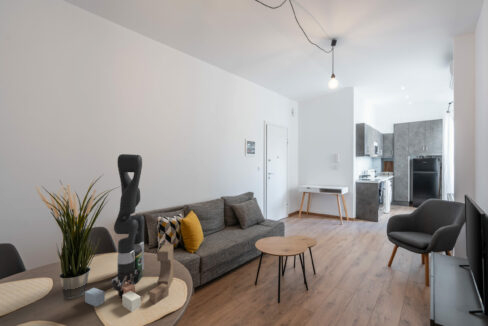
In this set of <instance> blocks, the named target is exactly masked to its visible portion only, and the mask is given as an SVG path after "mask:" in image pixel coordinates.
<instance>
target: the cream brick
mask: <svg viewBox="0 0 488 326" xmlns="http://www.w3.org/2000/svg"><path fill="white" fill-rule="evenodd" d="M121 299H122V303H121V304H122V305H123V306H122V305H121V306H122V307H124V308H125V309H126V310H128V311H130V312H131V313H133V312H135V311H137V310H138V309H140V308H141V305H142V303H141V300H142V299H141V296H140V295H139V294H137V293H136V292H135V293H134V292H132V291H130V292H127V293H125V294H123V295H122V298H121Z"/></svg>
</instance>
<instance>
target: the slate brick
mask: <svg viewBox="0 0 488 326" xmlns="http://www.w3.org/2000/svg"><path fill="white" fill-rule="evenodd" d="M105 292H106V291H105V290H102V289H99V288H96V287H92V288H90V289H88V290H86V291H84V303H86V304H88V305H91V306H93V307H95V306H97V307H98V305H99V306H101V305H102V304H103V303H105V299H106V297H105V295H106V293H105Z"/></svg>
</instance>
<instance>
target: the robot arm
mask: <svg viewBox="0 0 488 326" xmlns="http://www.w3.org/2000/svg"><path fill="white" fill-rule="evenodd" d="M116 164H117V171H118V175H119V181H120V189H121V197H120V201H119V211H118V214H117V217H116V219H115V222H114V225H113V231H114V233H115V234H116V235H127V237H123V238H120V239H119V240H118V242H117V243H118V244H117V274H116V277H115V278H111V279H110V282H111V284H112V287H113V289H114V291H116V292H118V291H119V296H118V297H120V298H121V299H122V295H123V287H124V285H125V282H126V281H129V283H130V284H131V285H133V286H135V284H137V283H138V282H139V281H138V278H139V274H140V270H139V269H136V270H135V269H134V268H135V252H134V245H140V246H141V247H142V272H143V271H144V268H145V237H144V236H145V216H144V215H143V214H138V215H137V214H136V215H135V213H136V208H137V206H138V205H139V203H140V202H141V189H140V188H139V185H140V180H141V174H142V169H143V158H142V156H141V155H140V154H130V153H128V154H127V153H126V154H125V153H124V154H123V153H122V154H119V155H118V156H117V163H116ZM129 173H133V177H132V178H131V177H130V175H129ZM133 275H134V277H133ZM137 281H138V282H137ZM118 285H119V286H118Z"/></svg>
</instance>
